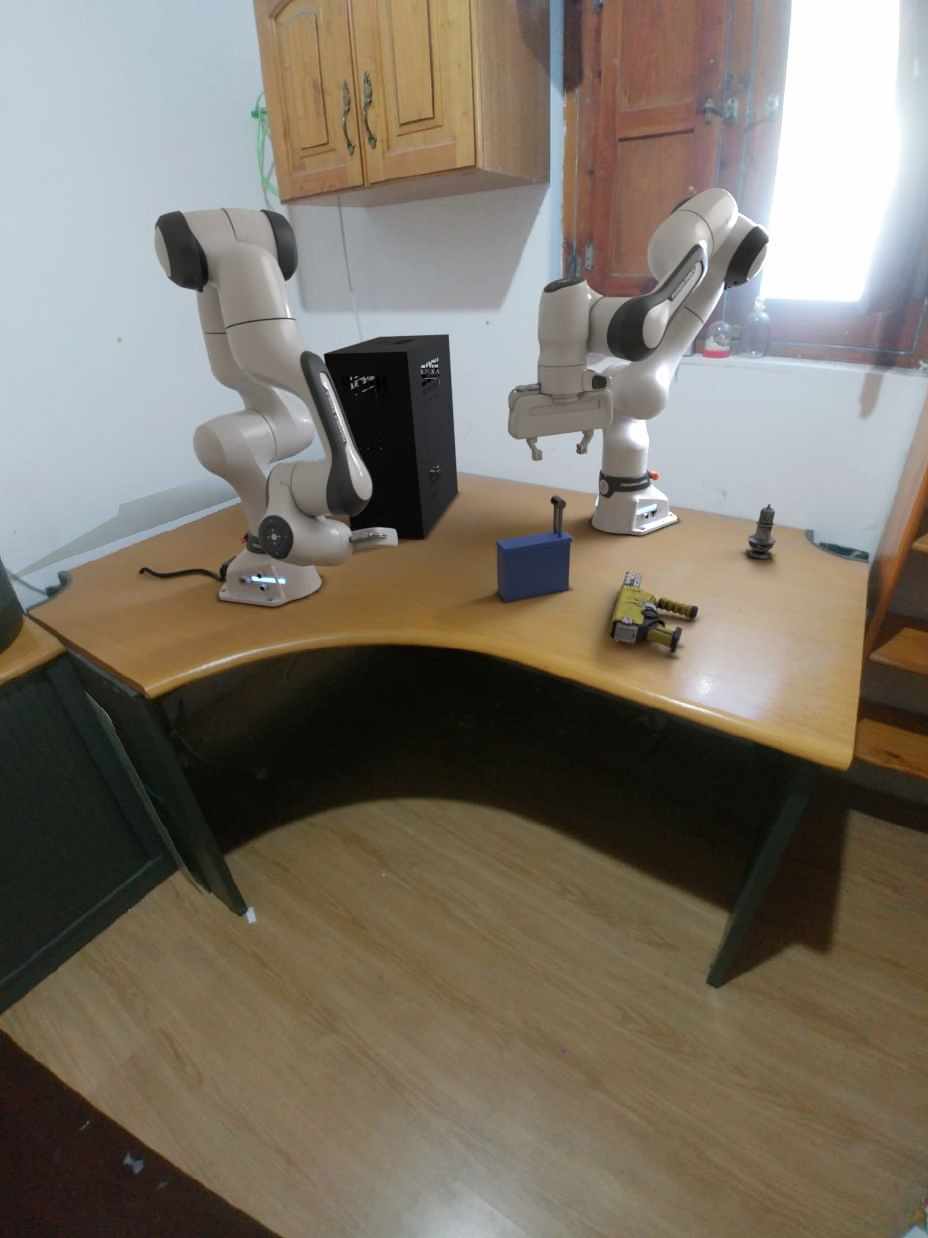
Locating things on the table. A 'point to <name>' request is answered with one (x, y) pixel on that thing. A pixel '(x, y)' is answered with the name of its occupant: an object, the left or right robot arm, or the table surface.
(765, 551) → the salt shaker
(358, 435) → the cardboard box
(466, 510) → the table surface
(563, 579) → the chest
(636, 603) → the toy gun
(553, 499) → the lid
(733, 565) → the table surface
